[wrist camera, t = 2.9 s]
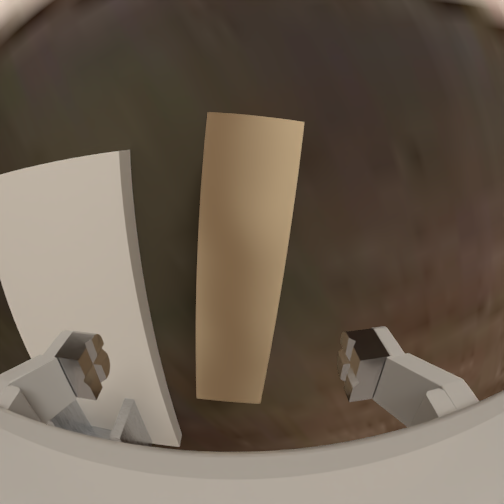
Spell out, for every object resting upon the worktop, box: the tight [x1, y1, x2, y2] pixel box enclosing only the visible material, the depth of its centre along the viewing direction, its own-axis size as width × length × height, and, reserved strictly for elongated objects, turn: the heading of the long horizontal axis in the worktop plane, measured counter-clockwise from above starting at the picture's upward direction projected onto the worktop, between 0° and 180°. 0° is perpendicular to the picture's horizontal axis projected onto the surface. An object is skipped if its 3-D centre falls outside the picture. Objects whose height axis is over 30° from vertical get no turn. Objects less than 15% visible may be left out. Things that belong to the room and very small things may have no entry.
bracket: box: [0, 150, 182, 447], centre depth 16 cm, size 12×24×6 cm, turn 0°
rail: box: [196, 112, 304, 404], centre depth 15 cm, size 4×14×5 cm, turn 174°
